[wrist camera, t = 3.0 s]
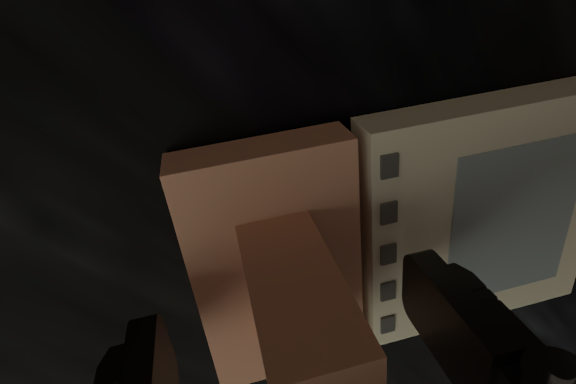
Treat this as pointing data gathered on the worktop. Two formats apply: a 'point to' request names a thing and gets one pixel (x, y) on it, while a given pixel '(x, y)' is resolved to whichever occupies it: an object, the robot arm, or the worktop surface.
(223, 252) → the stub
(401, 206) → the control panel
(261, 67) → the worktop surface
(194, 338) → the worktop surface
